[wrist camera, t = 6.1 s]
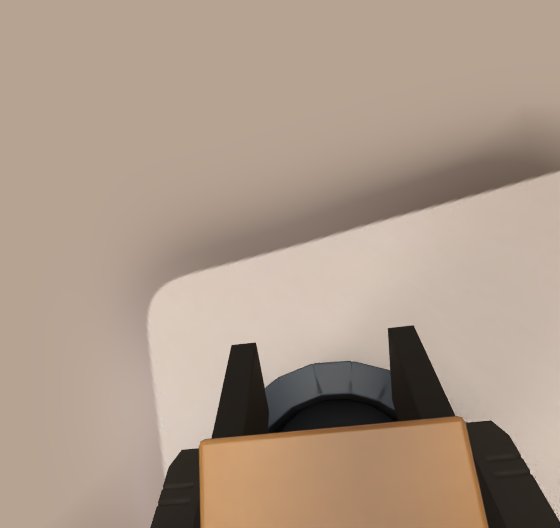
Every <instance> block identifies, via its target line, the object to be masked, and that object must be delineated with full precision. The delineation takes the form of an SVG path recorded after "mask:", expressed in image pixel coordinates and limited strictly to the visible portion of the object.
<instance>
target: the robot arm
mask: <svg viewBox="0 0 560 528" xmlns="http://www.w3.org/2000/svg"><path fill="white" fill-rule="evenodd" d="M388 337H389V355H390V373H391V390H392V401H393V405H394V408H395V411H396V415H397V418H398V422H399V421H410V420H421V419H432V418H443V417H453V416H455V414H454V412H453V410H452V408H451V405H450V403H449V401H448V399H447V397H446V395H445V393H444V390H443V388H442V386H441V384H440V382H439V380H438V377H437V375H436V373H435V371H434V369H433V367H432V364H431V362H430V360H429V358H428V356H427V354H426V351H425V349H424V347H423V345H422V343H421V341H420V338H419V336H418V334H417V332H416V330H415V328H414V326H405V327H395V328H388ZM268 423H269V408H268V403H267V398H266V393H265V387H264V382H263V377H262V372H261V367H260V362H259V357H258V351H257V346H256V343H248V344H238V345H232V346H231V351H230V355H229V360H228V365H227V369H226V374H225V379H224V383H223V388H222V393H221V397H220V402H219V407H218V411H217V416H216V421H215V425H214V430H213V435H212V439H215V438H226V437H237V436H248V435H259V434H268ZM466 428H467V432H468V437H469V441H470V446H471V450H472V455H473V459H474V464H475V468H476V473H477V477H478V482H479V486H480V491H481V495H482V500H483V504H484V509H485V514H486V518H487V523H488V527H489V528H560V522H559V520H558V518H557V516H556V515H555V513H554V511H553V510H552V508H551V506H550V504H549V503H548V501H547V499H546V498H545V496H544V494H543V492H542V491H541V489H540V487H539V486H538V484H537V482H536V480H535V479H534V477H533V475H531V474H530V470H529V468H528V467H527V465H526V463H525V462H524V460H523V459H522V458H521V455H520V453H519V451H518V450H517V448H516V446H515V444H514V443H513V441H512V439H511V438H510V436H509V435H508V434H507V433H505V432H504V431H503V430H502V429H501V428H499V427H498V426H497V425H496V424H495V423H494V422H492V421H481V422H470V423H466ZM151 528H200V479H199V448H198V449H187V450H181V452H180V453H179V454H178V456H177V457H176V458H175V460H174V461H173V462H172V464H171V465H170V466H169V469H168V472H167V475H166V478H165V482H164V485H163V490H162V492H161V495H160V498H159V501H158V506H157V508H156V511H155V515H154V518H153V521H152V524H151Z"/></svg>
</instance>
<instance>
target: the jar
mask: <svg viewBox="0 0 560 528" xmlns="http://www.w3.org/2000/svg"><path fill="white" fill-rule="evenodd" d="M265 393H266V398H267V403H268V408H269V423H268V434H270V433H280V432H291V431H302V430H313V429H324V428H334V427H345V426H356V425H367V424H378V423H388V422H398V418H397V415H396V411H395V408H394V405H393V401H392V390H391V373H390V371H389V370H387V369H383V368H379V367H375V366H371V365H367V364H363V363H358V362H351V361H342V362H327V363H315V364H310V365H308V366H305V367H303V368H300V369H298V370H295V371H293V372H290V373H288V374H286V375H283V376H281V377H278V378H277V379H275V380H274V381H273V382H272V383H271V384H269V385H268V386H267V387H266V388H265Z"/></svg>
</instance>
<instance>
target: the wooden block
mask: <svg viewBox="0 0 560 528" xmlns="http://www.w3.org/2000/svg"><path fill="white" fill-rule="evenodd" d="M199 479H200V528H489V527H488V523H487V518H486V514H485V509H484V504H483V500H482V495H481V491H480V486H479V482H478V477H477V473H476V468H475V464H474V459H473V455H472V450H471V446H470V441H469V437H468V432H467V428H466V423H465V421H464V419H463V418H462V417H459V416H453V417H443V418H432V419H421V420H410V421H399V422H388V423H378V424H367V425H356V426H345V427H334V428H324V429H313V430H302V431H291V432H280V433H270V434H259V435H248V436H237V437H226V438H215V439H205V440H203V441H201V442H200V445H199Z"/></svg>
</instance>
